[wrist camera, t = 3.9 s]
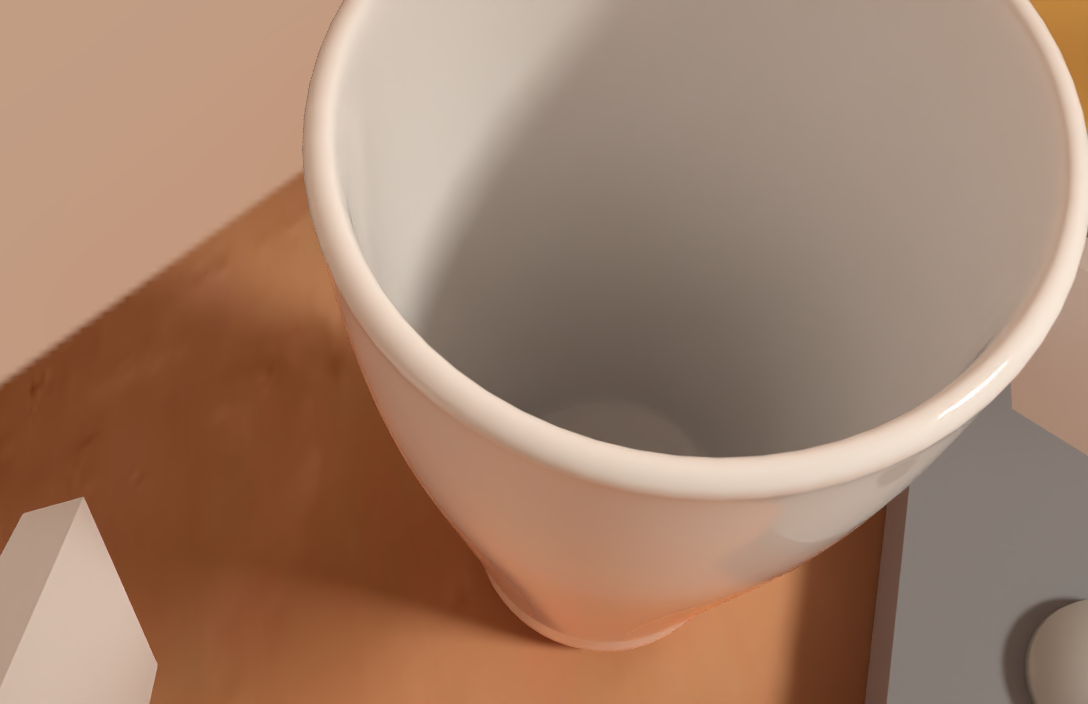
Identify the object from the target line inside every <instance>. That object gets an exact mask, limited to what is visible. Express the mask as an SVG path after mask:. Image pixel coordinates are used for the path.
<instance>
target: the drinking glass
mask: <svg viewBox="0 0 1088 704" xmlns="http://www.w3.org/2000/svg"><path fill="white" fill-rule="evenodd" d="M302 151H303V167H304V182H305V189H306V194H307V199H308V205H309V210H310V216H311V220H312V223H313V226H314V230H315V233H316V236H317V239H318V242H319V246H320V249H321V252H322V255H323V257H324V260H325V264H326V268H327V271H328V274H329V278H330V281H331V284H332V288H333V291H334V294H335V298H336V301H337V304H338V307H339V310H340V314H341V317H342V320H343V323H344V326H345V329H346V332H347V335H348V338H349V341H350V344H351V347H352V349H353V352H354V355H355V358H356V360H357V363H358V365H359V367H360V370H361V372H362V375H363V377H364V380H365V382H366V384H367V386H368V389H369V391H370V393H371V396H372V398H373V400H374V403H375V405H376V407H377V409H378V411H379V413H380V416H381V418H382V420H383V422H384V424H385V426H386V428H387V430H388V431H389V433H390V435H391V437H392V439H393V441H394V442H395V444H396V446H397V448H398V449H399V451H400V453H401V455H402V456H403V458H404V460H405V462H406V463H407V465H408V467H409V468H410V470H411V471H412V473H413V474H414V476H415V478H416V479H417V480H418V482H419V483H420V485H421V486H422V487H423V489H424V490H425V492H426V493H427V494H428V496H429V497H430V499H431V500H432V501H433V503H434V504H435V505H436V507H437V508H438V509H439V511H440V512H441V513H442V515H443V516H444V517H445V518H446V520H447V521H448V522H449V523H450V524H451V526H452V527H453V528H454V529H455V531H456V532H457V533H458V534H459V536H460V537H461V538H462V539H463V540H464V542H465V543H466V544H467V545H468V547H469V548H470V549H471V550H472V552H473V553H474V554H475V555H476V557H477V558H478V559H479V560H480V562H481V563H482V564H483V566H484V569H485V571H486V573H487V576H488V578H489V580H490V582H491V584H492V585H493V587H494V589H495V591H496V592H497V594H498V595H499V596H500V598H501V599H502V601H503V602H504V603H505V604H506V605H507V607H508V608H509V609H510V610H511V611H512V612H513V613H514V614H515V615H516V616H517V617H518V618H519V619H520V620H521V621H523V622H524V623H525V624H526V625H528V626H529V627H530V628H532V629H533V630H535V631H537V632H538V633H540V634H541V635H543V636H545V637H547V638H549V639H551V640H553V641H555V642H558V643H561V644H564V645H566V646H570V647H574V648H578V649H583V650H590V651H603V652H607V651H621V650H628V649H633V648H637V647H640V646H644V645H647V644H649V643H652V642H655V641H657V640H659V639H661V638H663V637H665V636H667V635H669V634H670V633H672V632H674V631H675V630H677V629H678V628H680V627H681V626H682V625H683V624H685V623H686V622H687V621H688V620H690V619H691V618H692V617H693V616H695V615H697V614H699V613H702V612H704V611H706V610H708V609H710V608H713V607H715V606H717V605H720V604H722V603H724V602H727V601H729V600H731V599H734V598H736V597H738V596H741V595H743V594H745V593H747V592H750V591H752V590H754V589H756V588H758V587H760V586H762V585H764V584H766V583H768V582H770V581H772V580H774V579H776V578H778V577H780V576H783V575H785V574H787V573H789V572H791V571H792V570H794V569H796V568H798V567H799V566H801V565H803V564H805V563H806V562H808V561H810V560H811V559H813V558H814V557H816V556H817V555H819V554H821V553H822V552H824V551H825V550H827V549H828V548H830V547H831V546H833V545H834V544H836V543H837V542H839V541H840V540H842V539H843V538H845V537H846V536H848V535H849V534H850V533H851V532H853V531H854V530H855V529H857V528H858V527H859V526H861V525H862V524H863V523H864V522H866V521H867V520H868V519H869V518H871V517H872V516H873V515H874V514H876V513H877V512H878V511H879V510H881V509H882V508H883V507H884V506H886V505H887V504H888V503H889V502H890V501H892V500H893V499H894V498H895V497H896V496H897V495H899V494H900V493H901V492H902V491H903V490H904V489H906V488H907V487H908V486H909V485H910V484H911V483H912V482H913V481H914V480H915V479H916V478H917V477H918V476H919V475H921V474H922V473H923V472H924V471H925V470H926V469H927V468H928V467H929V466H930V465H931V464H932V463H933V462H934V461H935V460H936V459H937V458H938V457H939V456H940V455H941V454H942V453H943V452H944V451H945V450H946V449H947V448H948V447H949V446H950V445H951V444H952V443H953V442H954V440H955V439H956V438H957V437H958V436H959V435H960V434H961V433H962V432H963V431H964V430H965V429H966V428H967V427H968V426H969V425H970V424H971V423H972V422H973V421H974V420H975V419H976V418H977V417H978V415H979V414H980V413H981V412H982V411H983V410H984V409H985V408H986V407H987V406H988V405H989V404H990V403H991V402H992V401H993V400H994V399H995V398H996V397H997V396H998V395H999V394H1000V393H1001V392H1002V391H1003V390H1004V389H1005V388H1006V387H1007V386H1008V385H1009V384H1010V383H1011V382H1012V381H1013V380H1014V379H1015V378H1016V377H1017V375H1018V374H1019V373H1020V372H1021V370H1022V369H1023V368H1024V366H1025V365H1026V364H1027V363H1028V361H1029V360H1030V359H1031V357H1032V356H1033V355H1034V354H1035V352H1036V351H1037V350H1038V349H1039V347H1040V346H1041V344H1042V343H1043V341H1044V339H1045V338H1046V336H1047V334H1048V333H1049V331H1050V329H1051V328H1052V326H1053V324H1054V323H1055V321H1056V319H1057V318H1058V316H1059V314H1060V312H1061V310H1062V308H1063V305H1064V303H1065V301H1066V299H1067V296H1068V294H1069V292H1070V290H1071V287H1072V285H1073V283H1074V280H1075V277H1076V274H1077V271H1078V267H1079V264H1080V261H1081V257H1082V254H1083V251H1084V247H1085V242H1086V236H1087V230H1088V135H1087V129H1086V124H1085V119H1084V114H1083V110H1082V107H1081V104H1080V101H1079V97H1078V94H1077V91H1076V88H1075V84H1074V81H1073V79H1072V77H1071V74H1070V72H1069V70H1068V67H1067V65H1066V63H1065V60H1064V58H1063V56H1062V53H1061V51H1060V49H1059V48H1058V46H1057V44H1056V42H1055V40H1054V39H1053V37H1052V35H1051V33H1050V31H1049V30H1048V28H1047V26H1046V24H1045V23H1044V21H1043V20H1042V18H1041V17H1040V15H1039V14H1038V12H1037V11H1036V9H1035V8H1034V7H1033V5H1032V4H1031V2H1030V1H1029V0H344V1H343V2H342V4H341V6H340V8H339V10H338V11H337V13H336V15H335V17H334V19H333V20H332V22H331V24H330V27H329V29H328V31H327V34H326V36H325V39H324V41H323V44H322V46H321V48H320V51H319V53H318V56H317V60H316V63H315V67H314V70H313V74H312V77H311V80H310V84H309V91H308V96H307V102H306V108H305V114H304V128H303V146H302Z"/></svg>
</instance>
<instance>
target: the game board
mask: <svg viewBox="0 0 1088 704" xmlns="http://www.w3.org/2000/svg"><path fill="white" fill-rule="evenodd" d="M1029 1H1030V2H1031V4H1032V5H1033V7H1034V8H1035V9H1036V11H1037V12H1038V14H1039V15H1040V17H1041V18H1042V20H1043V21H1044V23H1045V24H1046V26H1047V28H1048V30H1049V31H1050V33H1051V35H1052V37H1053V39H1054V40H1055V42H1056V44H1057V46H1058V48H1059V49H1060V51H1061V53H1062V56H1063V58H1064V60H1065V63H1066V65H1067V67H1068V70H1069V72H1070V74H1071V77H1072V79H1073V81H1074V84H1075V88H1076V91H1077V94H1078V97H1079V101H1080V104H1081V107H1082V110H1083V114H1084V119H1085V124H1086V129H1087V135H1088V0H1029ZM1086 237H1087V238H1088V230H1087V236H1086ZM865 704H1088V456H1087V455H1086V454H1084V453H1082V452H1081V451H1079V450H1077V449H1076V448H1074V447H1073V446H1071V445H1069V444H1068V443H1066V442H1065V441H1063V440H1061V439H1060V438H1058V437H1057V436H1055V435H1053V434H1052V433H1050V432H1049V431H1047V430H1045V429H1044V428H1042V427H1040V426H1039V425H1037V424H1036V423H1034V422H1032V421H1031V420H1029V419H1028V418H1026V417H1024V416H1023V415H1021V414H1020V413H1018V412H1016V411H1015V410H1013V409H1012V400H1011V383H1010V384H1009V385H1008V386H1007V387H1006V388H1005V389H1004V390H1003V391H1002V392H1001V393H1000V394H999V395H998V396H997V397H996V398H995V399H994V400H993V401H992V402H991V403H990V404H989V405H988V406H987V407H986V408H985V409H984V410H983V411H982V412H981V413H980V414H979V415H978V417H977V418H976V419H975V420H974V421H973V422H972V423H971V424H970V425H969V426H968V427H967V428H966V429H965V430H964V431H963V432H962V433H961V434H960V435H959V436H958V437H957V438H956V439H955V440H954V442H953V443H952V444H951V445H950V446H949V447H948V448H947V449H946V450H945V451H944V452H943V453H942V454H941V455H940V456H939V457H938V458H937V459H936V460H935V461H934V462H933V463H932V464H931V465H930V466H929V467H928V468H927V469H926V470H925V471H924V472H923V473H922V474H921V475H919V476H918V477H917V478H916V479H915V480H914V481H913V482H912V483H911V484H910V485H909V486H908V487H907V488H906V489H904V490H903V491H902V492H901V493H900V494H899V495H897V496H896V497H895V498H894V499H893V500H892V501H890V502H889V503H888V504H887V508H886V517H885V526H884V535H883V544H882V553H881V562H880V571H879V580H878V588H877V597H876V606H875V615H874V624H873V633H872V642H871V651H870V660H869V669H868V677H867V686H866V695H865Z"/></svg>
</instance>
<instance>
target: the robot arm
mask: <svg viewBox="0 0 1088 704" xmlns="http://www.w3.org/2000/svg"><path fill="white" fill-rule="evenodd" d="M1011 400H1012V409H1013V410H1015V411H1016V412H1018V413H1020V414H1021V415H1023V416H1024V417H1026V418H1028V419H1029V420H1031V421H1032V422H1034V423H1036V424H1037V425H1039V426H1040V427H1042V428H1044V429H1045V430H1047V431H1049V432H1050V433H1052V434H1053V435H1055V436H1057V437H1058V438H1060V439H1061V440H1063V441H1065V442H1066V443H1068V444H1069V445H1071V446H1073V447H1074V448H1076V449H1077V450H1079V451H1081V452H1082V453H1084V454H1086V455H1087V456H1088V238H1087V237H1086V242H1085V247H1084V251H1083V254H1082V257H1081V261H1080V264H1079V267H1078V271H1077V274H1076V277H1075V280H1074V283H1073V285H1072V287H1071V290H1070V292H1069V294H1068V296H1067V299H1066V301H1065V303H1064V305H1063V308H1062V310H1061V312H1060V314H1059V316H1058V318H1057V319H1056V321H1055V323H1054V324H1053V326H1052V328H1051V329H1050V331H1049V333H1048V334H1047V336H1046V338H1045V339H1044V341H1043V343H1042V344H1041V346H1040V347H1039V349H1038V350H1037V351H1036V352H1035V354H1034V355H1033V356H1032V357H1031V359H1030V360H1029V361H1028V363H1027V364H1026V365H1025V366H1024V368H1023V369H1022V370H1021V372H1020V373H1019V374H1018V375H1017V377H1016V378H1015V379H1014V380H1013V381H1012V382H1011ZM157 667H158V665H157V662H156V660H155V658H154V655H153V653H152V651H151V649H150V646H149V644H148V642H147V640H146V637H145V635H144V633H143V630H142V628H141V626H140V624H139V621H138V619H137V617H136V615H135V612H134V610H133V608H132V605H131V603H130V601H129V599H128V596H127V594H126V592H125V589H124V587H123V585H122V583H121V580H120V578H119V576H118V574H117V571H116V569H115V567H114V564H113V562H112V560H111V558H110V555H109V553H108V551H107V549H106V546H105V544H104V542H103V539H102V537H101V535H100V533H99V530H98V528H97V526H96V523H95V521H94V519H93V517H92V514H91V512H90V510H89V508H88V505H87V503H86V501H85V498H84V497H80V498H77V499H73V500H70V501H66V502H62V503H59V504H55V505H52V506H48V507H44V508H41V509H37V510H34V511H30V512H26V513H23V515H22V516H21V518H20V520H19V522H18V524H17V526H16V528H15V529H14V531H13V533H12V535H11V537H10V539H9V541H8V543H7V544H6V546H5V548H4V550H3V552H2V554H1V556H0V704H149V703H150V698H151V694H152V689H153V685H154V680H155V676H156V671H157Z"/></svg>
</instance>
